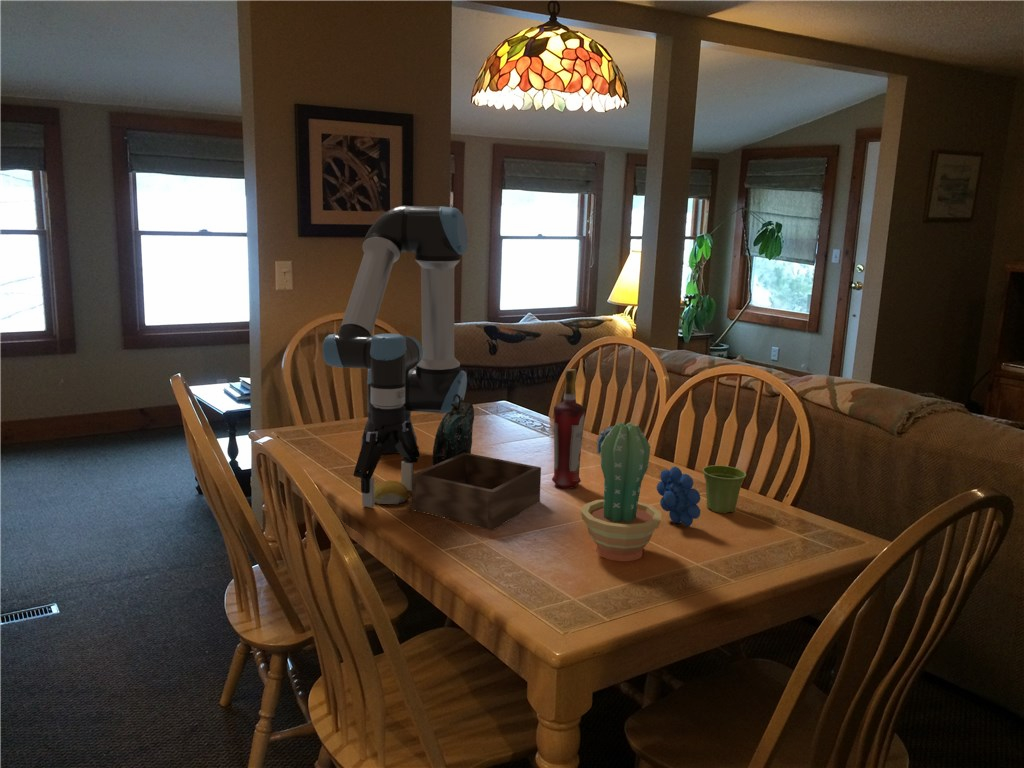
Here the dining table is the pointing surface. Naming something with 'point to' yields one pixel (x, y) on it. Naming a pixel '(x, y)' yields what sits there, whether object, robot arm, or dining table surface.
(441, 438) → the dark green bag
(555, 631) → the dining table surface
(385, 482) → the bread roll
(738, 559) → the dining table surface
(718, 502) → the plant pot
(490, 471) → the box
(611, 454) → the potted cactus
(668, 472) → the grapes
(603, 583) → the dining table surface
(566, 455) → the liquor
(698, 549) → the dining table surface
